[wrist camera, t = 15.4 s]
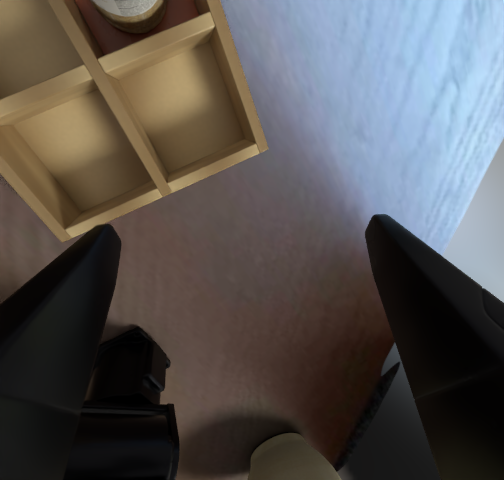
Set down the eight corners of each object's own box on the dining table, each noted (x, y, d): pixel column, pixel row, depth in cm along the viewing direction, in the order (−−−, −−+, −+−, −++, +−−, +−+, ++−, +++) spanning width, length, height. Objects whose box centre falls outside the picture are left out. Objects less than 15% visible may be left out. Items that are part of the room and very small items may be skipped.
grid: (81, 221, 20) (61, 243, 17) (-120, -29, 13) (-228, -81, 10) (254, 143, 21) (268, 149, 18) (156, -136, 14) (148, -219, 10)
